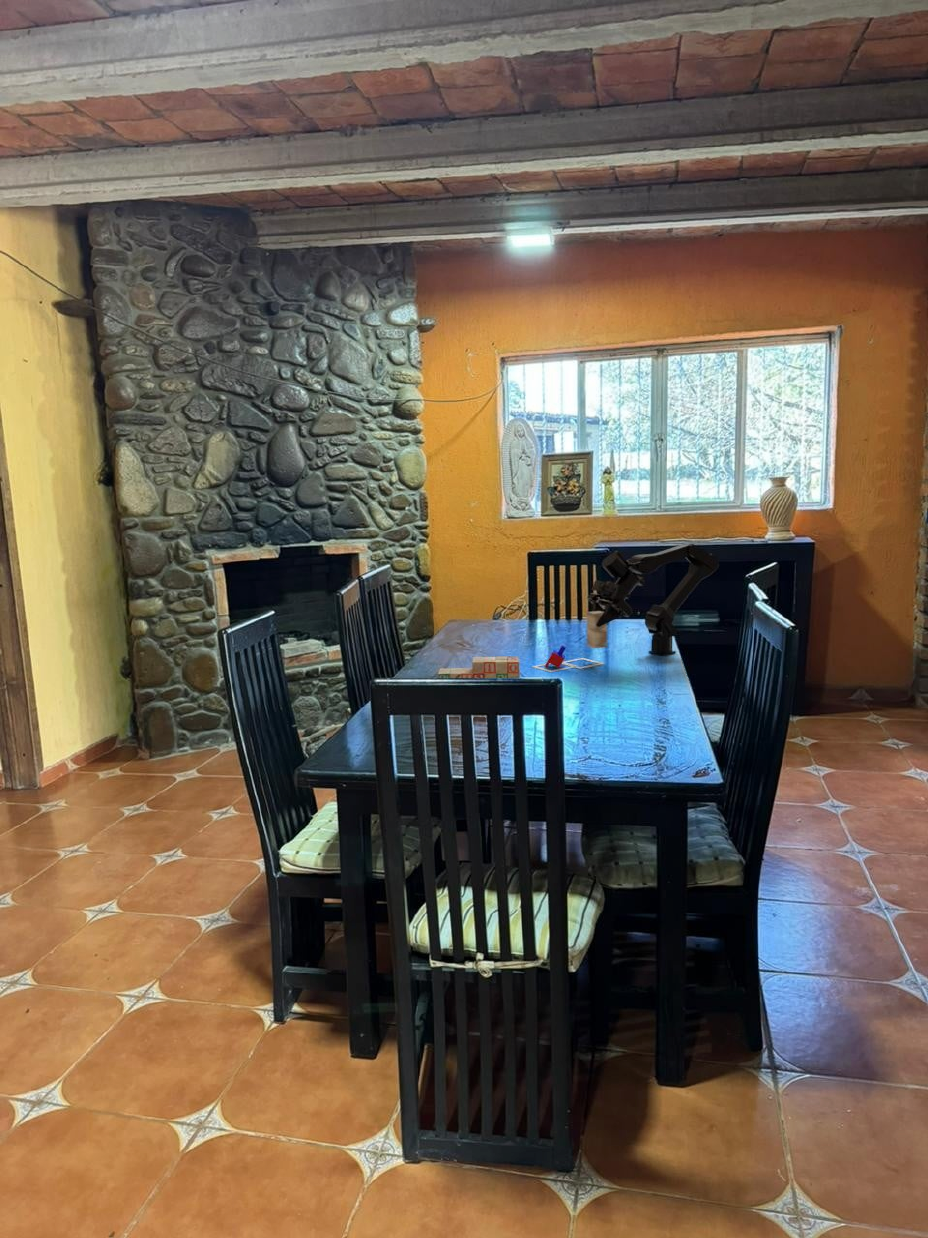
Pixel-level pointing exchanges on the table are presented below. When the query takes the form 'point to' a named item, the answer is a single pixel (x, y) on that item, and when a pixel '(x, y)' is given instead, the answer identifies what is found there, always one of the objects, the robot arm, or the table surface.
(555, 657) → the toy building block
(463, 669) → the stack of blocks
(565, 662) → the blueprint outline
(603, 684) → the table surface
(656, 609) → the robot arm
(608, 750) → the table surface
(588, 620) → the beech pillar
